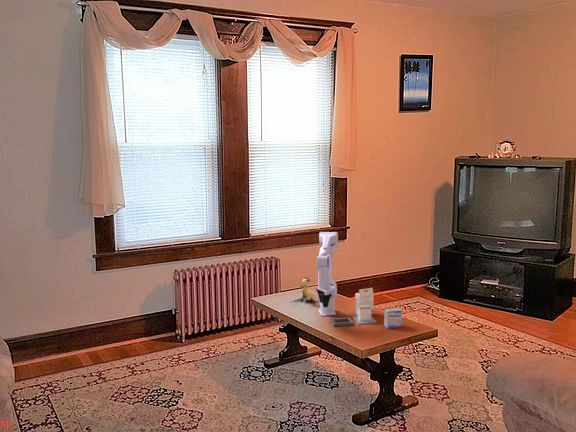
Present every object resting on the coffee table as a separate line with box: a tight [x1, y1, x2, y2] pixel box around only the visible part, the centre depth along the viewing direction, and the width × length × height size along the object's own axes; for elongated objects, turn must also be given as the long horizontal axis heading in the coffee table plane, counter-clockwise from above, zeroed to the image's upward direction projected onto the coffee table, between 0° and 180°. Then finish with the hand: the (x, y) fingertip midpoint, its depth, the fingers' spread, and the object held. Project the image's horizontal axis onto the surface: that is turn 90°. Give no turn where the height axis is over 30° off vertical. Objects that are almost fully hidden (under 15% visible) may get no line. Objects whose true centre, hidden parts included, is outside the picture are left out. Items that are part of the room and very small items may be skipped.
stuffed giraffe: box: [289, 275, 320, 309], centre depth 322 cm, size 16×18×16 cm
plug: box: [357, 304, 372, 321], centre depth 289 cm, size 4×6×7 cm, turn 100°
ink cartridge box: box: [354, 287, 375, 316], centre depth 298 cm, size 9×5×15 cm, turn 111°
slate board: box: [352, 315, 378, 325], centre depth 290 cm, size 11×10×1 cm
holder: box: [330, 316, 355, 328], centre depth 286 cm, size 8×10×2 cm
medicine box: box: [383, 307, 403, 329], centre depth 279 cm, size 8×4×9 cm, turn 101°
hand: (323, 304), depth 286 cm, fingers open, 7 cm apart
